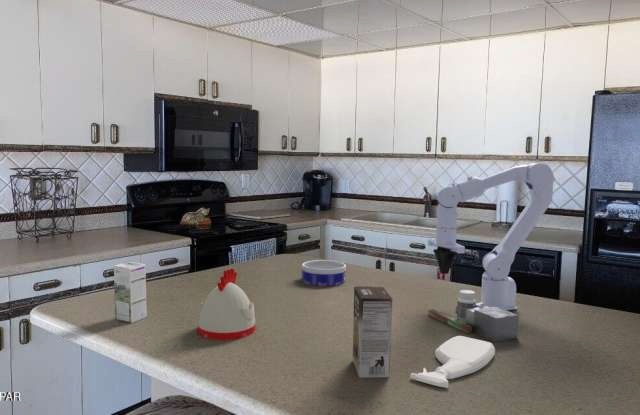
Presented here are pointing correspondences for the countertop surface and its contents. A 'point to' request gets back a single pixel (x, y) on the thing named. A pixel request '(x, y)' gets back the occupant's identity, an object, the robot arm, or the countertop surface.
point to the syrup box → (130, 291)
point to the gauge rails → (450, 320)
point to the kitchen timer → (226, 311)
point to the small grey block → (472, 315)
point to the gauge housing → (495, 324)
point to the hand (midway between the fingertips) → (444, 273)
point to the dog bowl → (323, 272)
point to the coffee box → (372, 331)
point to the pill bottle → (465, 304)
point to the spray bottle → (457, 360)
